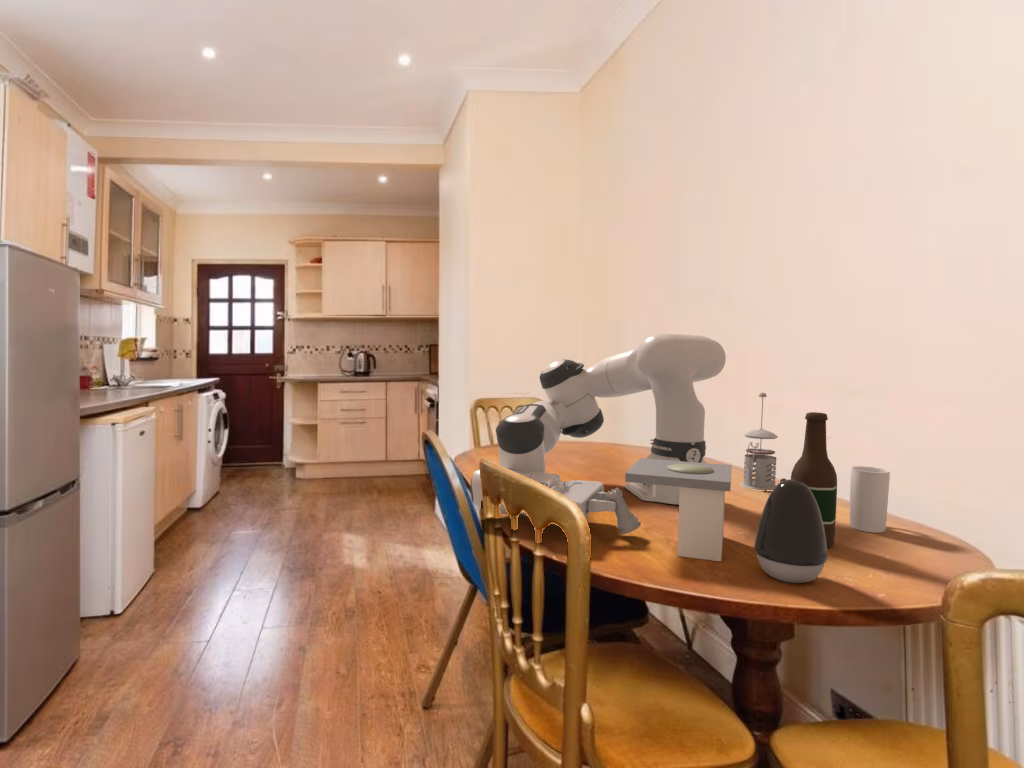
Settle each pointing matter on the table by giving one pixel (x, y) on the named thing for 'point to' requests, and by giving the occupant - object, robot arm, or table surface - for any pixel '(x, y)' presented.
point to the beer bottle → (818, 472)
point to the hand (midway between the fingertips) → (618, 503)
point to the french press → (759, 461)
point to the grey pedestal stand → (691, 501)
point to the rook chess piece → (623, 513)
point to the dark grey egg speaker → (791, 534)
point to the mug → (869, 498)
